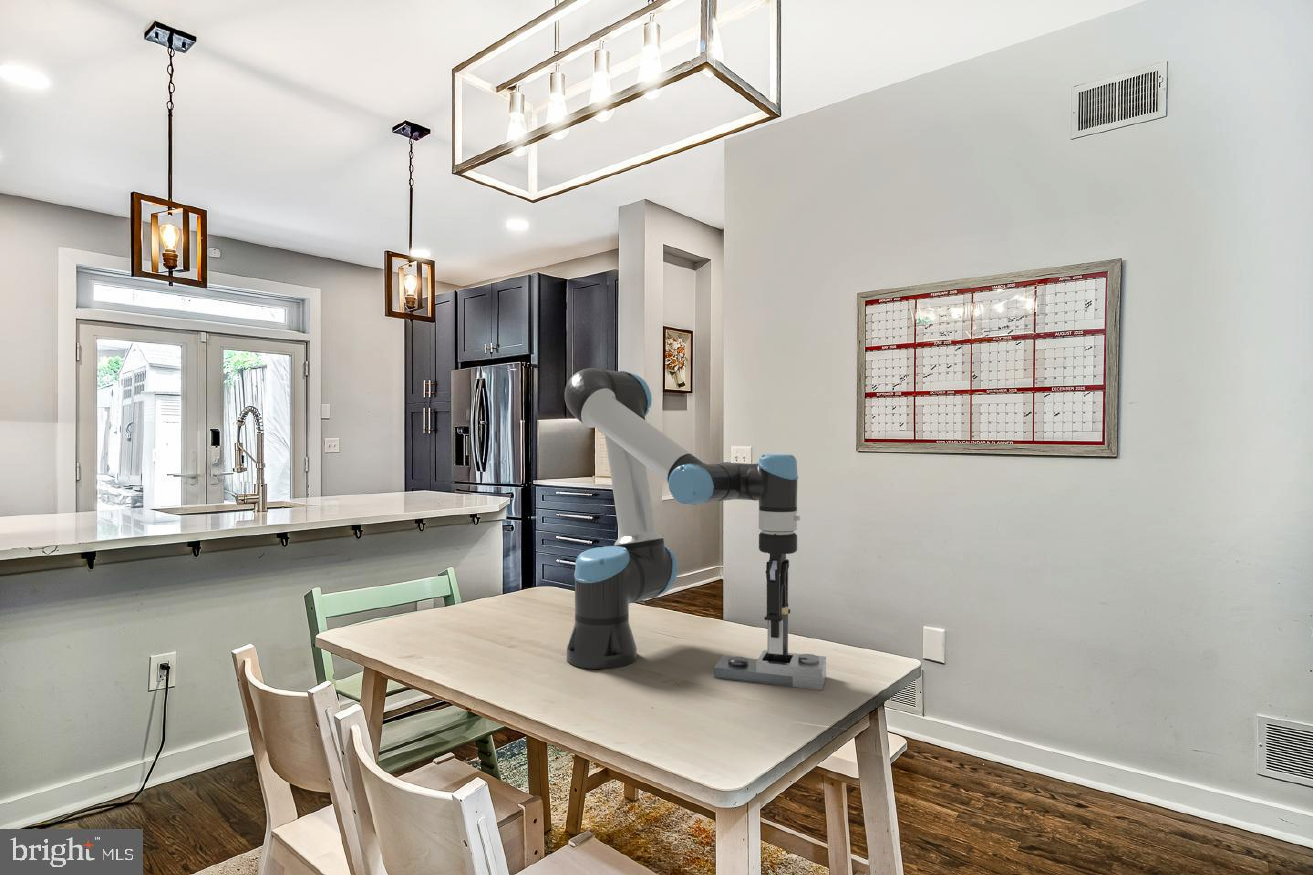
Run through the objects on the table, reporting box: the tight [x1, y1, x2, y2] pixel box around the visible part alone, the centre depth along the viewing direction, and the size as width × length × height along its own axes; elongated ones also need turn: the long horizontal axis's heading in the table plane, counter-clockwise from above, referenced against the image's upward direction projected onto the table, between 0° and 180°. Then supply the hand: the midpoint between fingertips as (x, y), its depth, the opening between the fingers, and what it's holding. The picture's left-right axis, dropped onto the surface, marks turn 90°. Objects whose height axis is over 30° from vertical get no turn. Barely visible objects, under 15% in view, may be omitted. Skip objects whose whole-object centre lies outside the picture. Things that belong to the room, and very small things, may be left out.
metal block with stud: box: [713, 649, 827, 691], centre depth 136 cm, size 21×8×5 cm, turn 71°
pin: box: [767, 606, 789, 663], centre depth 135 cm, size 4×4×13 cm
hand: (777, 649), depth 135 cm, fingers closed on pin, 4 cm apart
